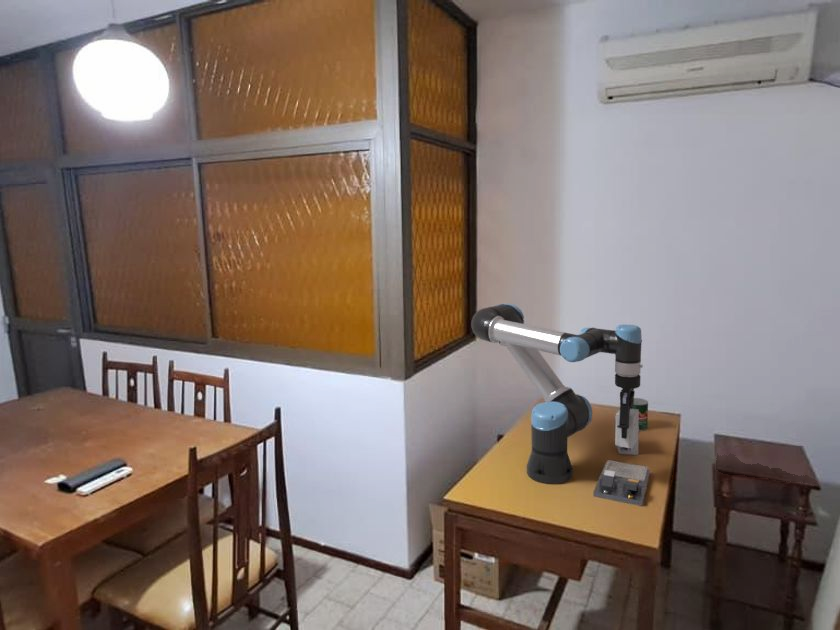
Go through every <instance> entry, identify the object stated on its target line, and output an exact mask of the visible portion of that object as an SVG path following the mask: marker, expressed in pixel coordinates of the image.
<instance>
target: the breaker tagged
mask: <svg viewBox="0 0 840 630" xmlns="http://www.w3.org/2000/svg"><path fill="white" fill-rule="evenodd" d="M638 487H639V480H633V479H628V481H627V483H626V489H629V490H634V491H637V489H638Z"/></svg>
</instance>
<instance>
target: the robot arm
mask: <svg viewBox="0 0 840 630" xmlns="http://www.w3.org/2000/svg"><path fill="white" fill-rule="evenodd" d="M524 318H525V316H524V314H523V311H522V310H521V309H520V308H519V307H518V306H517V305H515V304H512V303H500V304H496V305H494V306H489V307H484V308H481V309H479V310H478V311H476V312H475V313H474V314H473V315H472V318H471V330H472V333H473V334H474V335H475V336H476V337H477V338H478V339H480V340H482V341H485V342H489V343H494V344H499V346H502V347H506V348H507V350H508V351H509V352H510V354H511V355H512V356H513V358H514V359H515V360H516V362H517V363H518V365H519V366H520V368H521V369H522V370H523V372H524V373H525V375H526V376H527V377H528V379H529V380H530V382H531V384H533V386H534V388H535V389H536V390H537V392H538V393H539V394H540V396H541V397H542V398H543V400H544V402H540V403H538V404H535V406H534V407H533V408H532V411H531V416H530V422H531V424H530V425H531V427H530V428H531V430H530V431H531V451H530V454H529V456H528V461H527V463H526V475H527V474H528V475H527V476H528V477H529V478H530V479H532V480H534V481H536V482H538V483H543V484H552V485H554V484H555V485H556V484H562V483H563V484H564V483H566V482H568V481H570V480H571V479H572V478H573V476H574V475H573V473H574V470H573V465H572V462H571V459H570V455H569V454H568V438H570V437H571V436H573V435H574V434H576V433H578V432H580V431H582V430H583V429H585V428H586V427H587V426H588V425H589V424H590V423H591V421H592V418H593V408H592V405H591V403H590V401H589V400H588V398H587V397H585V396H583V395H580V394H577V393H575V392H574V390H573V389H572V388H571V387H569V386H566V385H564V384H563V382H562V381H561V379H560V378H559V377H558V376H557V374H556V372H555V371H554V370H553V369H552V367H551V366H550V364H549V363H548V362H547V361H546V359H545V357H544V356H543V355H542V354H541V352H542V353H549V354H552V355H557V356H561V357H562V358H563V359H564V360H565V361H567V362H569V363H577V362H581V361H584V360H586V359H587V358H589V357H592V356H594V355H597V354H599V353H604V354H611V355H612V354H613V355H614V356H615V359H614V360H615V362H614V373H615V374H614V384H615V387H618V388H621V389H620V392H619V401H620V402H619V409H620V421H619V425H618V426H617V427H618V428H620V447H626V448H629V416H630V409H634V398H635V389H638V388H640V387H641V375H640V374H641V371H642V370H641V369H642V368H643V366H644V365H643V364H641V361H642V344H643V343H642V342H643V339H642V328H641V327H639V326H638V325H635V324H619V325H617V326H615V327H616V328H615V330H614V329H612V330H611V329H603V328H597V327H583V328H581V330H580V331H579V332H578V334H573V333H570V332H569V333H568V332H564V331H559V330H555V329H551V328H546V327H541V326H535V325H531V324H526V323H525V320H524Z"/></svg>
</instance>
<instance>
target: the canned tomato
mask: <svg viewBox="0 0 840 630" xmlns="http://www.w3.org/2000/svg"><path fill="white" fill-rule="evenodd" d="M634 409H638V410H639V417H638V426H639V432H641V431H642V430H644V431H646V430H647V429H648V428H649V427H648V423H649V422H648V420H649V419H648V417H649V416H648V415H649V401H648V400H647V399H644V398H639V397H634Z"/></svg>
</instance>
